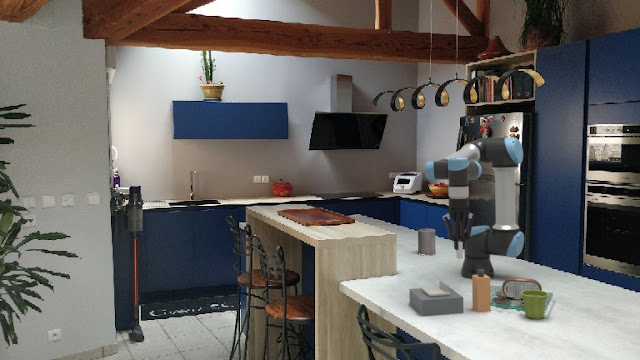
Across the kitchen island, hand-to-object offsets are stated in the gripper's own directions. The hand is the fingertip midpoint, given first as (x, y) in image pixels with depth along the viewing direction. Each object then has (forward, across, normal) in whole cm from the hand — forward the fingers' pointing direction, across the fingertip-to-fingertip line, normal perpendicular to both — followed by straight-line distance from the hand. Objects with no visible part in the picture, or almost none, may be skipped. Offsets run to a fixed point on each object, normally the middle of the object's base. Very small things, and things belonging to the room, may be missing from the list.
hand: (459, 257), depth 218 cm
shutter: (+13, +10, 0) cm, 16 cm away
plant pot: (+19, -21, +18) cm, 34 cm away
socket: (+19, +10, 0) cm, 22 cm away
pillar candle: (+19, -19, -97) cm, 101 cm away
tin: (+19, -27, -3) cm, 33 cm away
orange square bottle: (+19, -6, +6) cm, 21 cm away
